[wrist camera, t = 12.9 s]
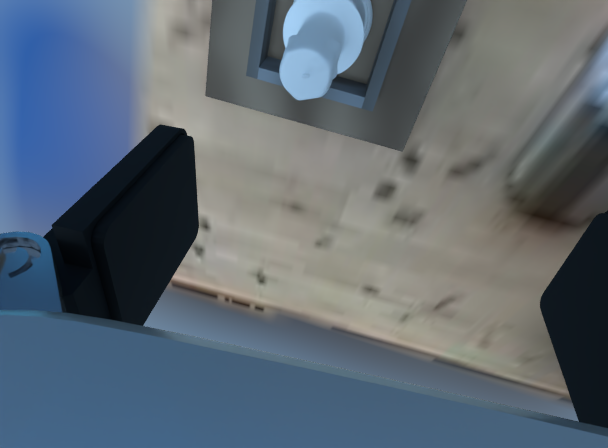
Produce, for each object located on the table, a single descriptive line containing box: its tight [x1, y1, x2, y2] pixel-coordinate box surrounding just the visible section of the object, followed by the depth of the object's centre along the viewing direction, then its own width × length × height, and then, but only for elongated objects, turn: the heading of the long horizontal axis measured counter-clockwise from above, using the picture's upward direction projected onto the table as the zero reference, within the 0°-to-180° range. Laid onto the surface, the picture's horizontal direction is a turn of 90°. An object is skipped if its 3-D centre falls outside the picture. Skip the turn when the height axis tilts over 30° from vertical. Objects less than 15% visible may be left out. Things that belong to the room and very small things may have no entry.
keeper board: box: [206, 0, 467, 152], centre depth 27 cm, size 16×16×4 cm
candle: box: [279, 0, 373, 100], centre depth 23 cm, size 5×5×12 cm
